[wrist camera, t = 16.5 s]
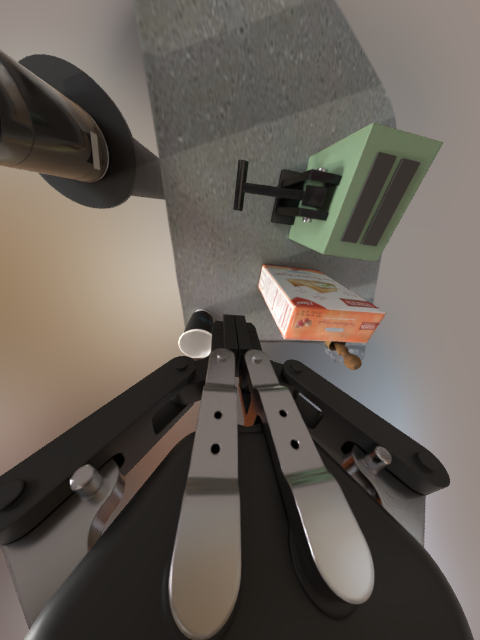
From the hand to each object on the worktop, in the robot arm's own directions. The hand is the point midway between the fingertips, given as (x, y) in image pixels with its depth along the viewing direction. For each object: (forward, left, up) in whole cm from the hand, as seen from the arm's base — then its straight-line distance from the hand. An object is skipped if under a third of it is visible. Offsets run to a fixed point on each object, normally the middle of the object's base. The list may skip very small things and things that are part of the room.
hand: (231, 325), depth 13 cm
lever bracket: (+12, +10, -29) cm, 33 cm away
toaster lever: (+7, +10, -21) cm, 25 cm away
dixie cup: (-4, -18, -29) cm, 35 cm away
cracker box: (+16, -5, -29) cm, 34 cm away
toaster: (+18, +10, -29) cm, 36 cm away
